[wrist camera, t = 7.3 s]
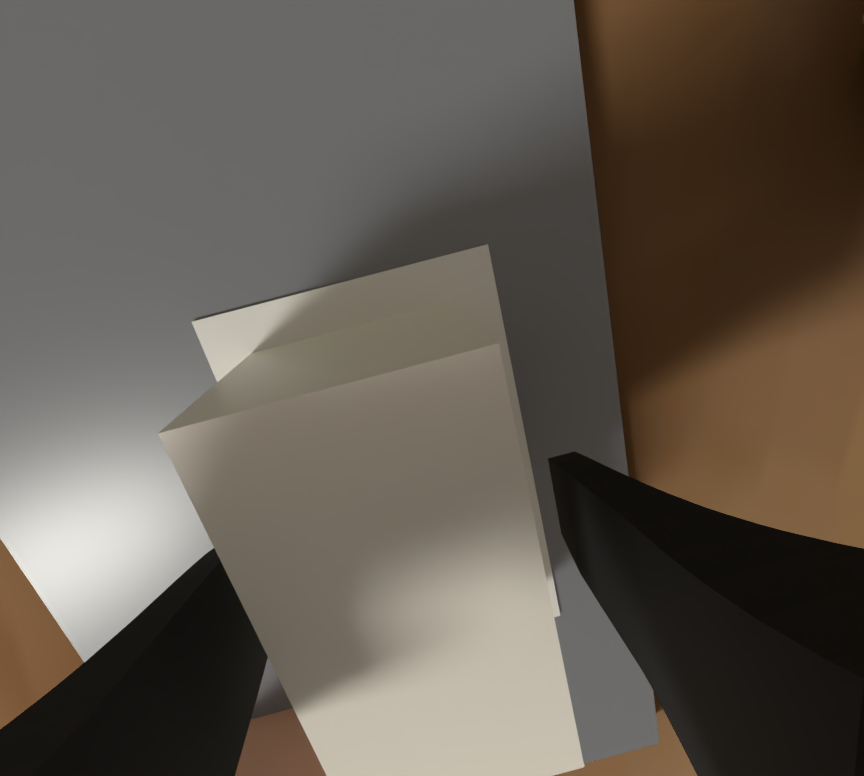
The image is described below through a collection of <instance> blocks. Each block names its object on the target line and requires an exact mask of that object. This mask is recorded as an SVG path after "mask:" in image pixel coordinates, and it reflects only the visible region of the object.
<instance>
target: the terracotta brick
mask: <svg viewBox="0 0 864 776" xmlns="http://www.w3.org/2000/svg"><path fill="white" fill-rule="evenodd" d="M235 776H326V774H325V772H324V770H323V768H322V766H321V764H320V761H319V759H318V757H317V755H316V753H315V751H314V749H313V747H312V745H311V743H310V741H309V739H308V737H307V735H306V733H305V731H304V729H303V727H302V725H301V723H300V721H299V719H298V717H297V715H296V713H295V711H294V709H293V708H292V709H288V710H284V711H281V712H277V713H273V714H269V715H266V716H262V717H258V718H255V719H251V721H250V724H249V728H248V731H247V735H246V738H245V742H244V745H243V749H242V752H241V756H240V759H239V763H238V767H237V770H236V774H235Z"/></svg>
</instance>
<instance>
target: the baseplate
mask: <svg viewBox="0 0 864 776" xmlns="http://www.w3.org/2000/svg"><path fill="white" fill-rule="evenodd" d="M452 300H454V301H455V302H456V303H457V304H458V305H459V306H460V307H461V308H463V309H464V310H465V311H466V312H467V313H468V314H469V315H470V316H471V317H472V318H473V319H474V320H475V321H476V322H477V323H478V324H479V325H480V326H481V327H482V328H483V329H484V330H485V331H486V332H487V333H489V334H490V335H491V336H492V337H493V338H494V339H495V340H496V341H497V342H498V343H499V347H500V352H501V357H502V362H503V367H504V372H505V377H506V381H507V386H508V391H509V396H510V401H511V406H512V411H513V416H514V421H515V426H516V431H517V436H518V441H519V446H520V451H521V456H522V461H523V466H524V470H525V475H526V480H527V485H528V490H529V495H530V500H531V505H532V510H533V515H534V520H535V525H536V530H537V535H538V540H539V545H540V550H541V554H542V559H543V564H544V569H545V574H546V579H547V584H548V589H549V594H550V599H551V604H552V609H553V614H554V619H555V624H556V629H557V634H558V639H559V643H560V648H561V653H562V658H563V663H564V668H565V673H566V678H567V683H568V688H569V693H570V698H571V703H572V708H573V713H574V718H575V723H576V728H577V732H578V737H579V742H580V747H581V752H582V757H583V762H584V764H585V763H589V762H592V761H596V760H600V759H603V758H607V757H611V756H614V755H618V754H622V753H625V752H629V751H633V750H636V749H640V748H644V747H647V746H651V745H655V744H658V743H659V736H658V727H657V719H656V710H655V701H654V693H653V689H652V687H651V685H650V684H649V682H648V680H647V678H646V677H645V675H644V673H643V672H642V670H641V668H640V667H639V665H638V664H637V662H636V660H635V659H634V657H633V656H632V654H631V653H630V651H629V649H628V648H627V646H626V645H625V643H624V642H623V640H622V638H621V637H620V635H619V634H618V632H617V631H616V629H615V628H614V626H613V624H612V623H611V621H610V620H609V618H608V617H607V615H606V613H605V612H604V610H603V609H602V607H601V606H600V604H599V603H598V601H597V599H596V598H595V596H594V595H593V593H592V591H591V590H590V588H589V587H588V585H587V584H586V582H585V580H584V579H583V577H582V575H581V574H580V572H579V570H578V568H577V566H576V564H575V562H574V560H573V558H572V556H571V553H570V551H569V549H568V547H567V545H566V543H565V541H564V538H563V536H562V534H561V529H560V524H559V518H558V513H557V507H556V501H555V496H554V490H553V485H552V479H551V474H550V468H549V463H548V458H552V457H555V456H559V455H563V454H567V453H570V452H574V451H575V452H577V453H579V454H582V455H584V456H586V457H588V458H590V459H593V460H595V461H597V462H599V463H601V464H603V465H605V466H607V467H609V468H611V469H614V470H616V471H618V472H620V473H622V474H624V475H626V476H628V467H627V459H626V450H625V441H624V433H623V424H622V415H621V407H620V398H619V389H618V381H617V372H616V363H615V355H614V346H613V337H612V329H611V320H610V311H609V303H608V294H607V285H606V277H605V268H604V259H603V251H602V242H601V233H600V225H599V216H598V207H597V199H596V190H595V181H594V173H593V164H592V155H591V147H590V138H589V129H588V121H587V112H586V103H585V95H584V86H583V77H582V69H581V60H580V51H579V43H578V34H577V25H576V17H575V8H574V0H0V538H1V540H2V541H3V543H4V544H5V546H6V547H7V549H8V550H9V552H10V553H11V555H12V556H13V558H14V559H15V561H16V562H17V564H18V565H19V567H20V568H21V570H22V571H23V572H24V574H25V575H26V577H27V578H28V580H29V581H30V583H31V584H32V586H33V587H34V589H35V590H36V592H37V593H38V595H39V596H40V598H41V599H42V601H43V602H44V604H45V605H46V606H47V608H48V609H49V611H50V612H51V614H52V615H53V617H54V618H55V620H56V621H57V623H58V624H59V626H60V627H61V629H62V630H63V632H64V633H65V635H66V636H67V638H68V639H69V640H70V642H71V643H72V645H73V646H74V648H75V649H76V651H77V652H78V654H79V655H80V657H81V658H82V660H83V661H84V663H85V662H86V661H87V660H88V659H89V658H90V657H91V656H93V655H94V654H95V653H96V652H97V651H98V650H99V649H101V648H102V647H103V646H104V645H105V644H106V643H107V642H109V641H110V640H111V639H112V638H113V637H114V636H115V635H117V634H118V633H119V632H120V631H121V630H122V629H123V628H125V627H126V626H127V625H128V624H129V623H130V622H131V621H132V620H133V619H135V618H136V617H137V616H138V615H139V614H140V613H141V612H142V611H143V610H144V609H145V608H147V607H148V606H149V605H150V604H151V603H152V602H153V601H154V600H155V599H156V598H157V597H158V596H160V595H161V594H162V593H163V592H164V591H165V590H166V589H167V588H168V587H169V586H170V585H171V584H173V583H174V582H175V581H176V580H177V579H178V578H179V577H180V576H181V575H182V574H183V573H185V572H186V571H187V570H188V569H189V568H190V567H191V566H192V565H193V564H195V563H196V562H197V561H198V560H199V559H200V558H202V557H203V556H204V555H205V554H206V553H208V552H209V551H210V550H212V549H213V548H214V546H213V544H212V542H211V540H210V538H209V536H208V534H207V532H206V530H205V528H204V526H203V524H202V522H201V520H200V518H199V516H198V514H197V512H196V510H195V508H194V506H193V504H192V502H191V500H190V498H189V496H188V494H187V492H186V489H185V487H184V485H183V483H182V481H181V479H180V477H179V475H178V473H177V471H176V469H175V467H174V465H173V463H172V461H171V459H170V457H169V455H168V453H167V451H166V449H165V447H164V445H163V443H162V441H161V439H160V437H159V435H158V433H159V432H160V431H161V430H163V429H164V428H165V427H166V426H167V425H168V424H170V423H171V422H172V421H173V420H174V419H175V418H177V417H178V416H179V415H180V414H181V413H182V412H183V411H185V410H186V409H187V408H188V407H189V406H190V405H192V404H193V403H194V402H195V401H196V400H197V399H199V398H200V397H201V396H202V395H203V394H204V393H206V392H207V391H208V390H209V389H210V388H211V387H213V386H214V385H215V384H216V383H217V382H218V381H220V380H221V379H222V378H223V377H224V376H225V375H227V374H228V373H229V372H230V371H231V370H232V369H234V368H235V367H236V366H237V365H238V364H239V363H241V362H242V361H243V360H244V359H245V358H246V357H247V356H249V355H250V354H251V353H255V352H258V351H262V350H266V349H270V348H274V347H277V346H281V345H285V344H289V343H293V342H296V341H300V340H304V339H308V338H312V337H315V336H319V335H323V334H327V333H331V332H334V331H338V330H342V329H346V328H350V327H353V326H357V325H361V324H365V323H369V322H372V321H376V320H380V319H384V318H388V317H391V316H395V315H399V314H403V313H407V312H410V311H414V310H418V309H422V308H426V307H429V306H433V305H437V304H441V303H445V302H448V301H452ZM292 708H293V707H292V705H291V703H290V701H289V699H288V697H287V695H286V692H285V690H284V688H283V686H282V684H281V682H280V680H279V678H278V676H277V674H276V672H275V670H274V668H273V666H272V664H271V662H270V660H269V658H267V662H266V666H265V670H264V674H263V677H262V681H261V685H260V688H259V692H258V696H257V699H256V703H255V706H254V710H253V713H252V717H251V719H255V718H258V717H262V716H266V715H269V714H273V713H277V712H281V711H284V710H288V709H292Z"/></svg>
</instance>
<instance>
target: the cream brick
mask: <svg viewBox="0 0 864 776" xmlns="http://www.w3.org/2000/svg"><path fill="white" fill-rule="evenodd" d="M158 435H159V437H160V439H161V441H162V443H163V445H164V447H165V449H166V451H167V453H168V455H169V457H170V459H171V461H172V463H173V465H174V467H175V469H176V471H177V473H178V475H179V477H180V479H181V481H182V483H183V485H184V487H185V489H186V492H187V494H188V496H189V498H190V500H191V502H192V504H193V506H194V508H195V510H196V512H197V514H198V516H199V518H200V520H201V522H202V524H203V526H204V528H205V530H206V532H207V534H208V536H209V538H210V540H211V542H212V544H213V546H214V548H215V550H216V552H217V554H218V556H219V559H220V561H221V563H222V565H223V567H224V569H225V571H226V573H227V575H228V577H229V579H230V581H231V583H232V585H233V587H234V589H235V591H236V593H237V595H238V597H239V599H240V601H241V603H242V605H243V607H244V609H245V611H246V613H247V615H248V617H249V619H250V621H251V623H252V625H253V628H254V630H255V632H256V634H257V636H258V638H259V640H260V642H261V644H262V646H263V648H264V650H265V652H266V654H267V656H268V658H269V660H270V662H271V664H272V666H273V668H274V670H275V672H276V674H277V676H278V678H279V680H280V682H281V684H282V686H283V688H284V690H285V692H286V695H287V697H288V699H289V701H290V703H291V705H292V707H293V709H294V711H295V713H296V715H297V717H298V719H299V721H300V723H301V725H302V727H303V729H304V731H305V733H306V735H307V737H308V739H309V741H310V743H311V745H312V747H313V749H314V751H315V753H316V755H317V757H318V759H319V761H320V764H321V766H322V768H323V770H324V772H325V774H326V776H553V775H557V774H561V773H564V772H568V771H572V770H575V769H579V768H582V767H584V762H583V757H582V752H581V747H580V742H579V737H578V732H577V728H576V723H575V718H574V713H573V708H572V703H571V698H570V693H569V688H568V683H567V678H566V673H565V668H564V663H563V658H562V653H561V648H560V643H559V639H558V634H557V629H556V624H555V619H554V614H553V609H552V604H551V599H550V594H549V589H548V584H547V579H546V574H545V569H544V564H543V559H542V554H541V550H540V545H539V540H538V535H537V530H536V525H535V520H534V515H533V510H532V505H531V500H530V495H529V490H528V485H527V480H526V475H525V470H524V466H523V461H522V456H521V451H520V446H519V441H518V436H517V431H516V426H515V421H514V416H513V411H512V406H511V401H510V396H509V391H508V386H507V381H506V377H505V372H504V367H503V362H502V357H501V352H500V347H499V343H498V342H497V341H496V340H495V339H494V338H493V337H492V336H491V335H490V334H489V333H487V332H486V331H485V330H484V329H483V328H482V327H481V326H480V325H479V324H478V323H477V322H476V321H475V320H474V319H473V318H472V317H471V316H470V315H469V314H468V313H467V312H466V311H465V310H464V309H463V308H461V307H460V306H459V305H458V304H457V303H456V302H455V301H454V300H452V301H448V302H445V303H441V304H437V305H433V306H429V307H426V308H422V309H418V310H414V311H410V312H407V313H403V314H399V315H395V316H391V317H388V318H384V319H380V320H376V321H372V322H369V323H365V324H361V325H357V326H353V327H350V328H346V329H342V330H338V331H334V332H331V333H327V334H323V335H319V336H315V337H312V338H308V339H304V340H300V341H296V342H293V343H289V344H285V345H281V346H277V347H274V348H270V349H266V350H262V351H258V352H255V353H251V354H250V355H249V356H247V357H246V358H245V359H244V360H243V361H242V362H241V363H239V364H238V365H237V366H236V367H235V368H234V369H232V370H231V371H230V372H229V373H228V374H227V375H225V376H224V377H223V378H222V379H221V380H220V381H218V382H217V383H216V384H215V385H214V386H213V387H211V388H210V389H209V390H208V391H207V392H206V393H204V394H203V395H202V396H201V397H200V398H199V399H197V400H196V401H195V402H194V403H193V404H192V405H190V406H189V407H188V408H187V409H186V410H185V411H183V412H182V413H181V414H180V415H179V416H178V417H177V418H175V419H174V420H173V421H172V422H171V423H170V424H168V425H167V426H166V427H165V428H164V429H163V430H161V431H160V432H159V433H158Z"/></svg>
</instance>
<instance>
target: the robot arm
mask: <svg viewBox="0 0 864 776" xmlns="http://www.w3.org/2000/svg"><path fill="white" fill-rule="evenodd" d="M548 463H549V468H550V474H551V479H552V485H553V490H554V496H555V501H556V507H557V513H558V518H559V524H560V529H561V534H562V536H563V538H564V541H565V543H566V545H567V547H568V549H569V551H570V553H571V556H572V558H573V560H574V562H575V564H576V566H577V568H578V570H579V572H580V574H581V575H582V577H583V579H584V580H585V582H586V584H587V585H588V587H589V588H590V590H591V591H592V593H593V595H594V596H595V598H596V599H597V601H598V603H599V604H600V606H601V607H602V609H603V610H604V612H605V613H606V615H607V617H608V618H609V620H610V621H611V623H612V624H613V626H614V628H615V629H616V631H617V632H618V634H619V635H620V637H621V638H622V640H623V642H624V643H625V645H626V646H627V648H628V649H629V651H630V653H631V654H632V656H633V657H634V659H635V660H636V662H637V664H638V665H639V667H640V668H641V670H642V672H643V673H644V675H645V677H646V678H647V680H648V682H649V684H650V685H651V687H652V689H653V690H654V692H655V694H656V696H657V698H658V700H659V702H660V704H661V706H662V707H663V709H664V711H665V713H666V715H667V717H668V719H669V721H670V723H671V725H672V727H673V729H674V730H675V732H676V734H677V736H678V738H679V740H680V742H681V744H682V746H683V748H684V750H685V752H686V754H687V756H688V758H689V760H690V762H691V764H692V765H693V767H694V769H695V771H696V773H697V775H698V776H864V549H862V548H857V547H852V546H847V545H842V544H837V543H833V542H829V541H824V540H820V539H816V538H811V537H807V536H803V535H798V534H794V533H790V532H786V531H782V530H778V529H774V528H771V527H767V526H763V525H760V524H756V523H753V522H750V521H746V520H743V519H740V518H736V517H733V516H730V515H727V514H723V513H720V512H717V511H714V510H711V509H708V508H705V507H702V506H700V505H697V504H694V503H692V502H689V501H686V500H684V499H681V498H678V497H676V496H673V495H671V494H668V493H666V492H663V491H661V490H658V489H656V488H654V487H651V486H649V485H647V484H644V483H642V482H640V481H638V480H635V479H633V478H631V477H629V476H626V475H624V474H622V473H620V472H618V471H616V470H614V469H611V468H609V467H607V466H605V465H603V464H601V463H599V462H597V461H595V460H593V459H590V458H588V457H586V456H584V455H582V454H579V453H577V452H575V451H574V452H570V453H567V454H563V455H559V456H555V457H552V458H548ZM267 658H268V656H267V654H266V652H265V650H264V648H263V646H262V644H261V642H260V640H259V638H258V636H257V634H256V632H255V630H254V628H253V625H252V623H251V621H250V619H249V617H248V615H247V613H246V611H245V609H244V607H243V605H242V603H241V601H240V599H239V597H238V595H237V593H236V591H235V589H234V587H233V585H232V583H231V581H230V579H229V577H228V575H227V573H226V571H225V569H224V567H223V565H222V563H221V561H220V559H219V556H218V554H217V552H216V550H215V548H213V549H212V550H210V551H209V552H208V553H206V554H205V555H204V556H203V557H202V558H200V559H199V560H198V561H197V562H196V563H195V564H193V565H192V566H191V567H190V568H189V569H188V570H187V571H186V572H185V573H183V574H182V575H181V576H180V577H179V578H178V579H177V580H176V581H175V582H174V583H173V584H171V585H170V586H169V587H168V588H167V589H166V590H165V591H164V592H163V593H162V594H161V595H160V596H158V597H157V598H156V599H155V600H154V601H153V602H152V603H151V604H150V605H149V606H148V607H147V608H145V609H144V610H143V611H142V612H141V613H140V614H139V615H138V616H137V617H136V618H135V619H133V620H132V621H131V622H130V623H129V624H128V625H127V626H126V627H125V628H123V629H122V630H121V631H120V632H119V633H118V634H117V635H115V636H114V637H113V638H112V639H111V640H110V641H109V642H107V643H106V644H105V645H104V646H103V647H102V648H101V649H99V650H98V651H97V652H96V653H95V654H94V655H93V656H91V657H90V658H89V659H88V660H87V661H86V662H85V663H83V664H82V665H81V666H80V667H79V668H78V669H76V670H75V671H74V672H73V673H72V674H70V675H69V676H68V677H67V678H66V679H64V680H63V681H62V682H61V683H59V684H58V685H57V686H56V687H55V688H53V689H52V690H51V691H50V692H48V693H47V694H46V695H45V696H43V697H42V698H41V699H39V700H38V701H37V702H36V703H34V704H33V705H32V706H30V707H29V708H28V709H27V710H25V711H24V712H23V713H21V714H20V715H19V716H18V717H16V718H15V719H14V720H12V721H11V722H10V723H8V724H7V725H6V726H4V727H3V728H2V729H0V776H235V774H236V770H237V767H238V763H239V759H240V756H241V752H242V749H243V745H244V742H245V738H246V735H247V731H248V728H249V724H250V721H251V717H252V713H253V710H254V706H255V703H256V699H257V696H258V692H259V688H260V685H261V681H262V677H263V674H264V670H265V666H266V662H267Z"/></svg>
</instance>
